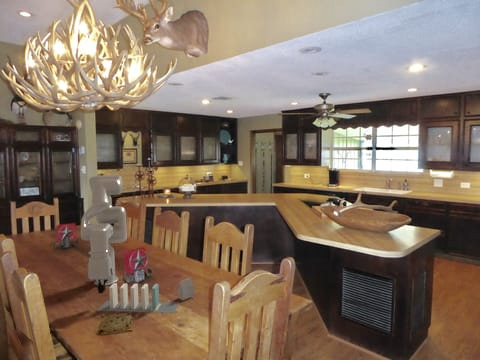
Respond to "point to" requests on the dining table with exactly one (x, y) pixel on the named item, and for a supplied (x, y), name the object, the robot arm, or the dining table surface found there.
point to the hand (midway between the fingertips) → (101, 292)
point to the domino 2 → (124, 295)
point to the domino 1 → (113, 295)
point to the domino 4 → (144, 296)
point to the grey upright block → (186, 289)
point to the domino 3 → (134, 296)
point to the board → (162, 307)
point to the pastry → (116, 323)
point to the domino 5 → (155, 296)
